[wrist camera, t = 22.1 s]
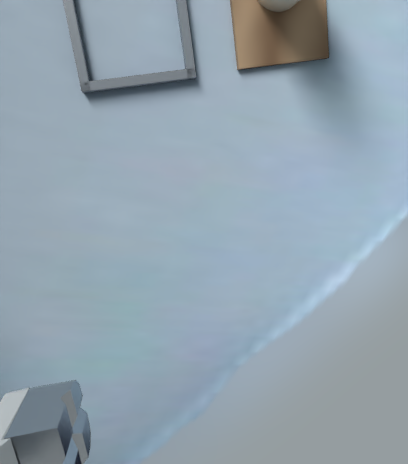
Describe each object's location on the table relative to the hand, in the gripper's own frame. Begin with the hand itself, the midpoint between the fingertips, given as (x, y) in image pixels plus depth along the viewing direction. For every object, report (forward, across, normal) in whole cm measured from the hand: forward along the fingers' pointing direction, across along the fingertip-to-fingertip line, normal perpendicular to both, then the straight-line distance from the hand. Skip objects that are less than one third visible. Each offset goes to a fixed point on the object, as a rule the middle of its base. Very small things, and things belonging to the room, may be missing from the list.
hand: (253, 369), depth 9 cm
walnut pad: (+31, -12, -18) cm, 38 cm away
